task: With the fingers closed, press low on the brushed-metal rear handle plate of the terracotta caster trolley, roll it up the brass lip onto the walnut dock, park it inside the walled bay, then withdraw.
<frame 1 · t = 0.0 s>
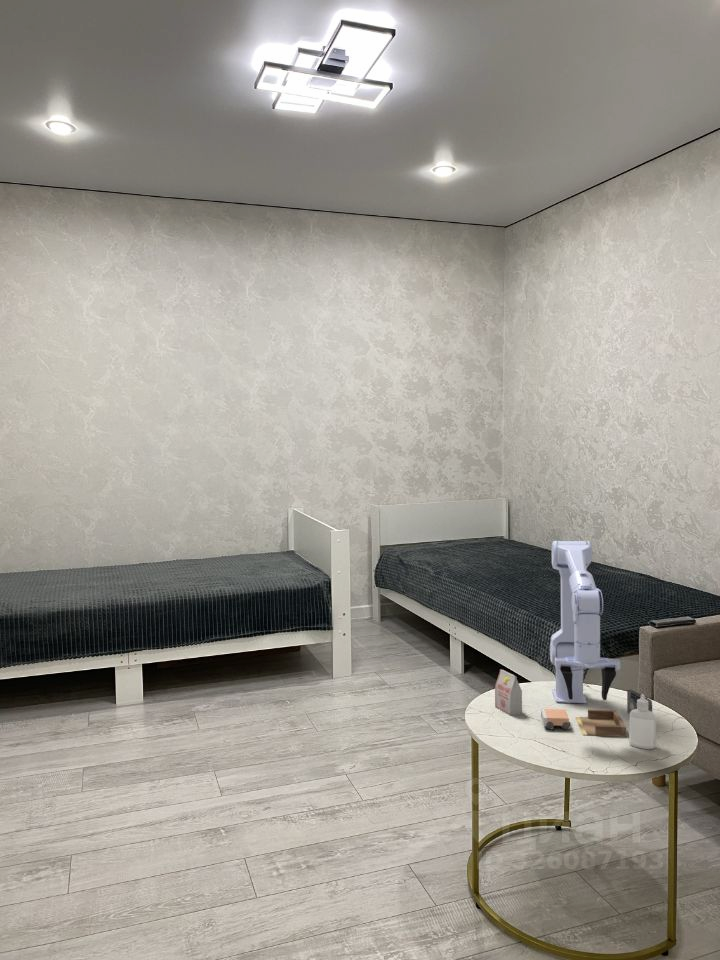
hand: (587, 698, 174), 10 cm above the table, fingers open, 7 cm apart
eye dropper bottle: (642, 746, 172), on the table
dock: (602, 726, 183), on the table
gable top carton: (508, 711, 195), on the table
trolley: (556, 725, 184), on the table
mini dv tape: (639, 718, 188), on the table
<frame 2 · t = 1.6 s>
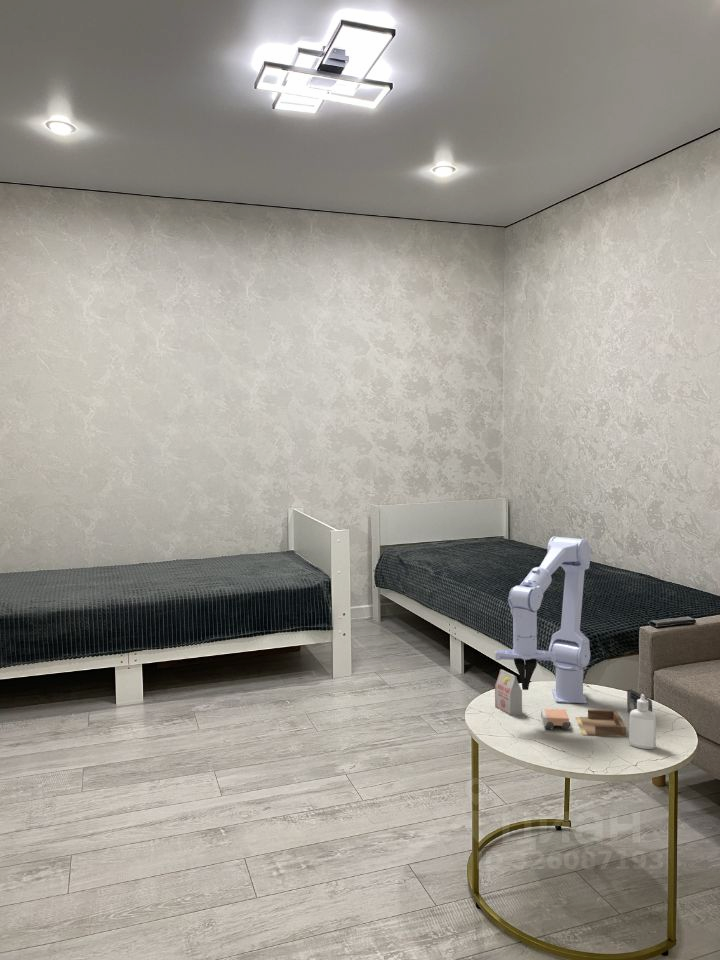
hand: (525, 688, 185), 9 cm above the table, fingers closed
nothing on the table moved.
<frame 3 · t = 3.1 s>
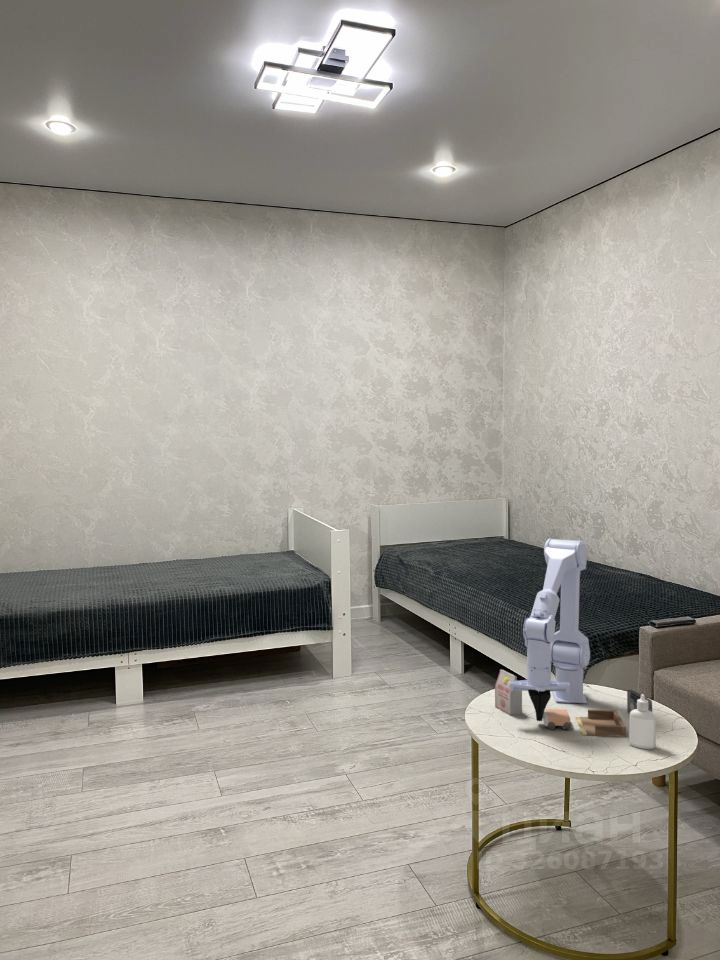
hand: (539, 719, 185), 1 cm above the table, fingers closed
trolley: (557, 725, 184), on the table, touching gripper
everything else where it was.
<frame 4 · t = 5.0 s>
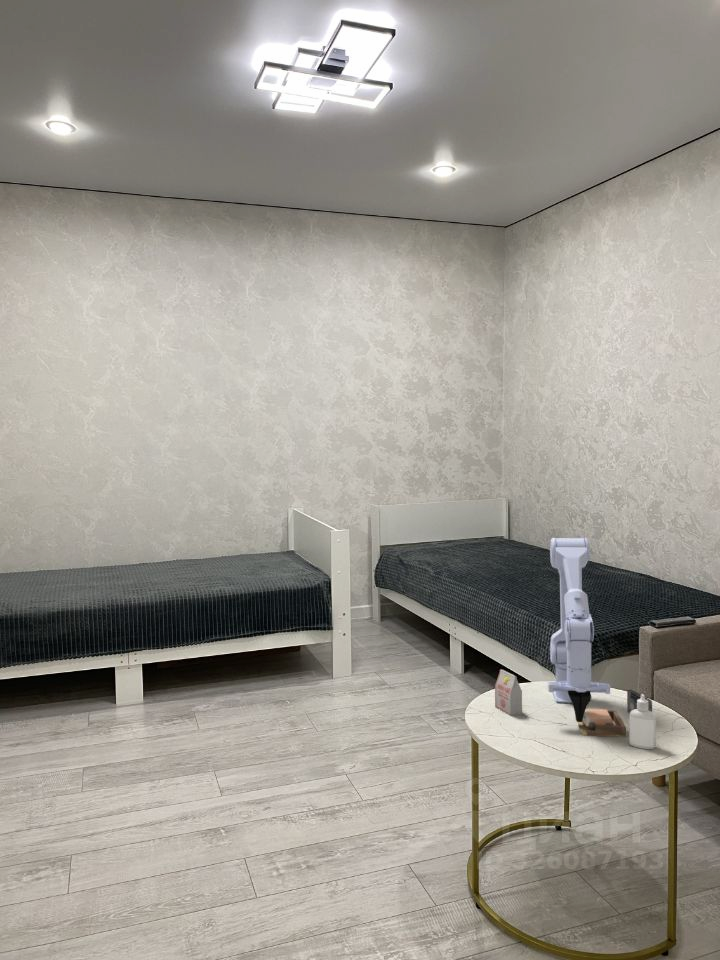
hand: (579, 720, 183), 1 cm above the table, fingers closed
trolley: (598, 725, 183), resting on dock, touching gripper
everything else where it was.
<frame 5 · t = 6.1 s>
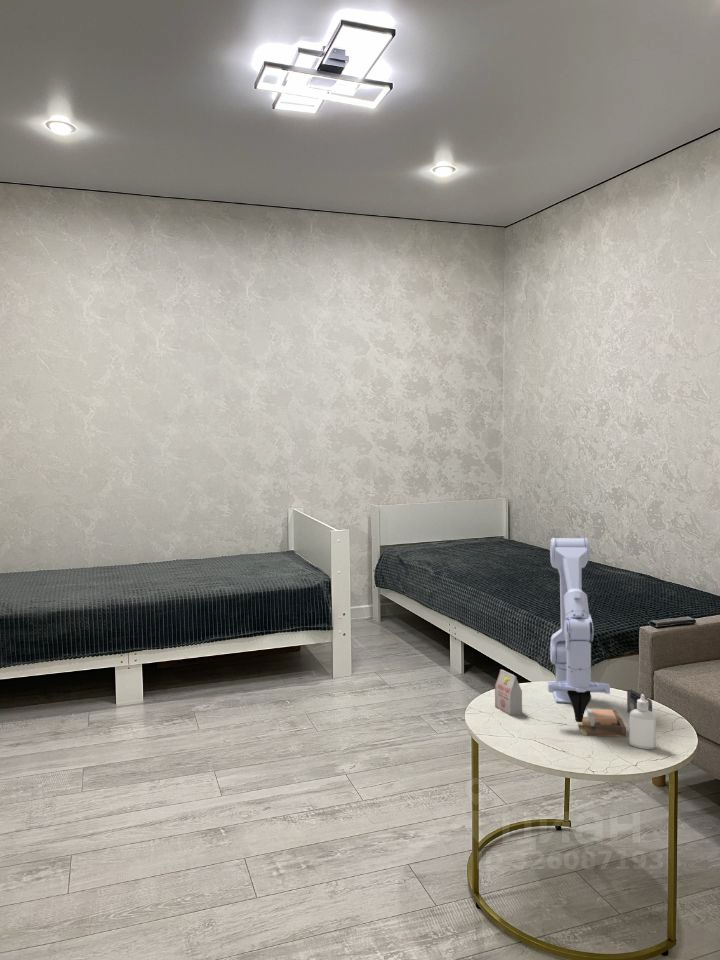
hand: (578, 720, 183), 1 cm above the table, fingers closed
trolley: (603, 726, 183), resting on dock
everything else where it was.
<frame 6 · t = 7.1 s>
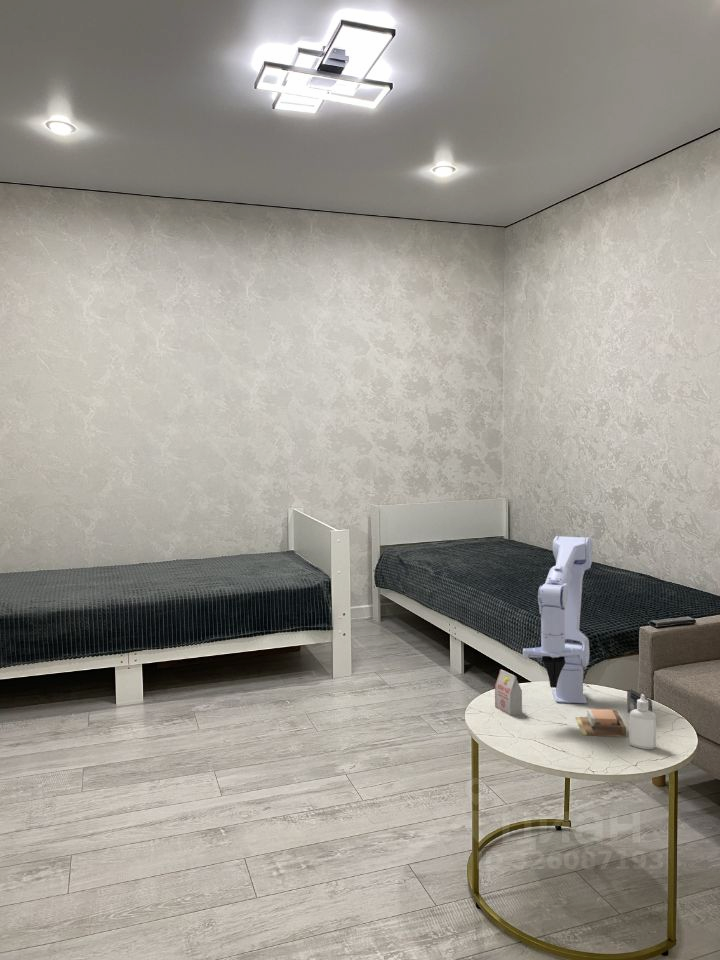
hand: (553, 686, 185), 9 cm above the table, fingers closed
nothing on the table moved.
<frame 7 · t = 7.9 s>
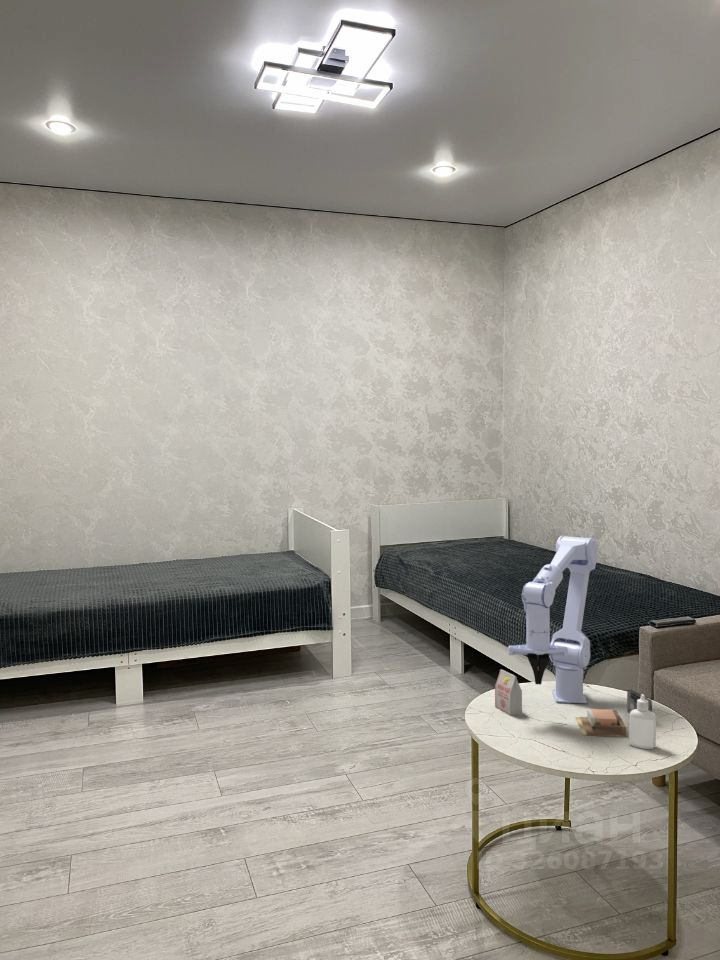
hand: (538, 683, 188), 9 cm above the table, fingers closed
nothing on the table moved.
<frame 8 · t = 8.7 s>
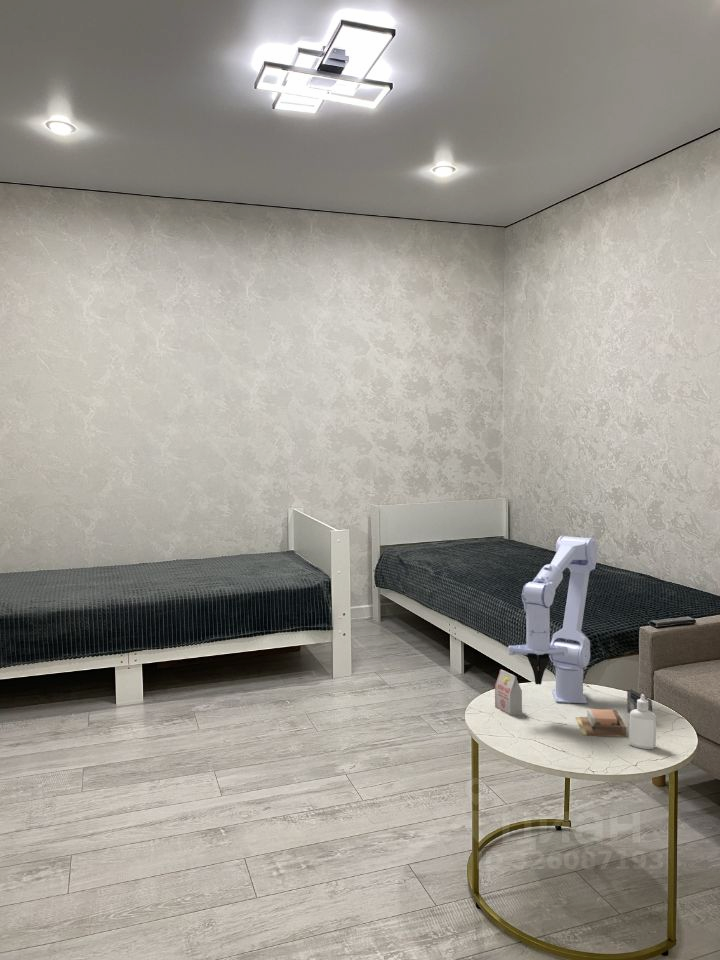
hand: (538, 683, 188), 9 cm above the table, fingers closed
nothing on the table moved.
at the end: trolley 0.6 cm off-centre on the dock, point 0.2 cm above the dock's base; trolley touching dock; trolley tilted 0° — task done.
